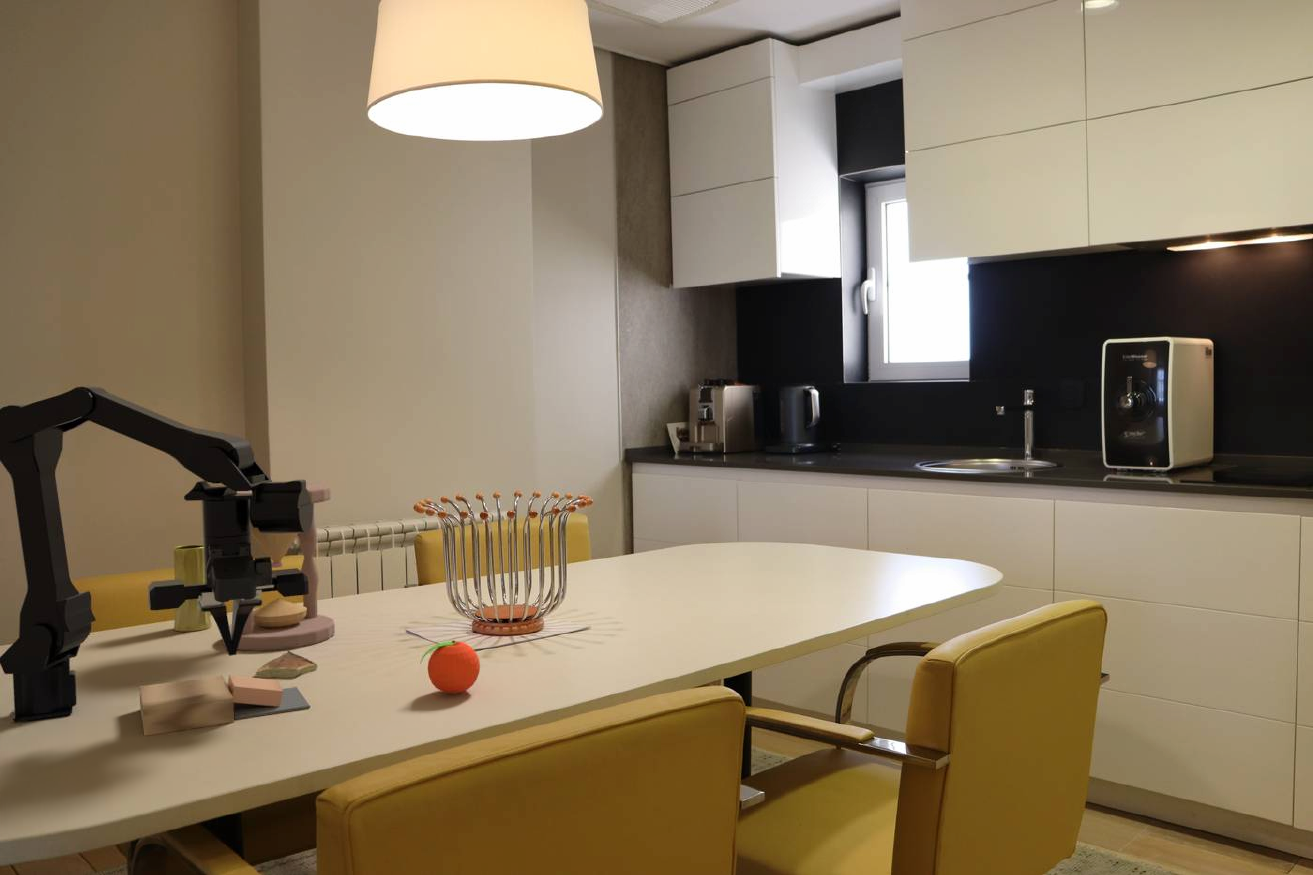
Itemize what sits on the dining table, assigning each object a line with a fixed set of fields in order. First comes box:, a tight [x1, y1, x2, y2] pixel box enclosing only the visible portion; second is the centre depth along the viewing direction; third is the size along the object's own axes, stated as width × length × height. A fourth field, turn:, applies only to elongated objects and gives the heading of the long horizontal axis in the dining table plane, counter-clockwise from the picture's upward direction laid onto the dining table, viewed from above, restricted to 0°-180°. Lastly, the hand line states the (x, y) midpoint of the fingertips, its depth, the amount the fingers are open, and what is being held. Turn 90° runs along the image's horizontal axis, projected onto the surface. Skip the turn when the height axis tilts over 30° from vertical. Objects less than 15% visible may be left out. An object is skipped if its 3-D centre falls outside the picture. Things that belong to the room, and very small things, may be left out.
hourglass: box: [222, 482, 336, 652], centre depth 175 cm, size 18×18×25 cm
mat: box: [233, 686, 311, 720], centre depth 138 cm, size 9×10×1 cm
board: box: [139, 675, 235, 737], centre depth 134 cm, size 10×12×3 cm
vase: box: [173, 544, 213, 633], centre depth 183 cm, size 6×6×14 cm
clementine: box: [419, 640, 481, 695], centre depth 141 cm, size 8×7×7 cm
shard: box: [255, 650, 318, 679], centre depth 156 cm, size 11×8×2 cm
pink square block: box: [226, 674, 283, 707], centre depth 137 cm, size 6×6×2 cm
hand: (231, 654), depth 136 cm, fingers closed
